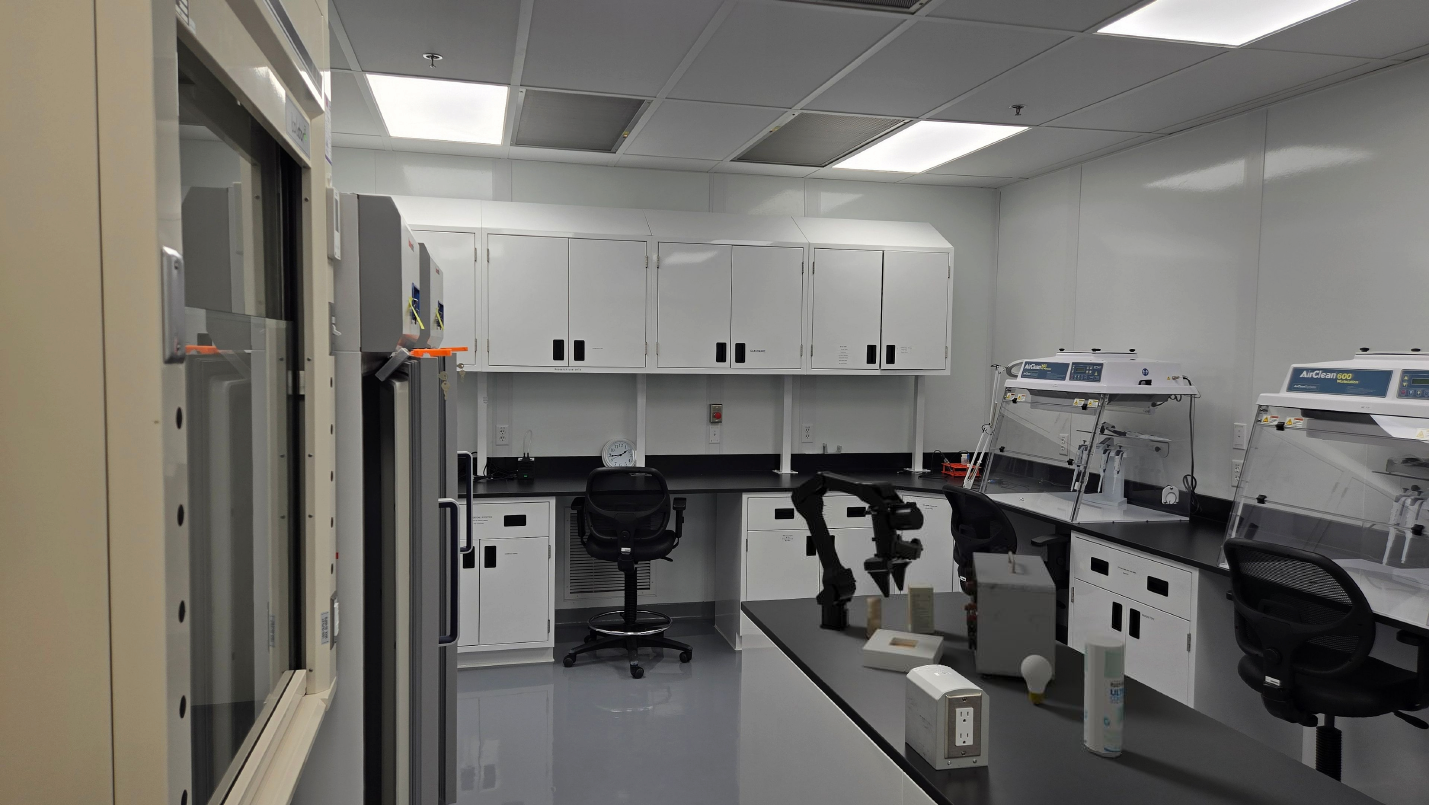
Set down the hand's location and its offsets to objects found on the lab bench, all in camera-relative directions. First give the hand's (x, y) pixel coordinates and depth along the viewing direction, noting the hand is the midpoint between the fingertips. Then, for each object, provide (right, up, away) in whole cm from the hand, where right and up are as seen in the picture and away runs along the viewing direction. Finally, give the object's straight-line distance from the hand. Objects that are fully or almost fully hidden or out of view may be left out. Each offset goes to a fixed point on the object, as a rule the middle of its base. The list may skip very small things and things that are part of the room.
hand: (894, 594), depth 204 cm
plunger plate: (0, -11, -10) cm, 15 cm away
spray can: (+25, -15, -56) cm, 64 cm away
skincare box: (+9, -13, +11) cm, 19 cm away
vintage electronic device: (+24, -13, -10) cm, 29 cm away
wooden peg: (-4, -13, +6) cm, 14 cm away
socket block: (0, -13, -10) cm, 17 cm away
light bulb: (+21, -14, -36) cm, 44 cm away
